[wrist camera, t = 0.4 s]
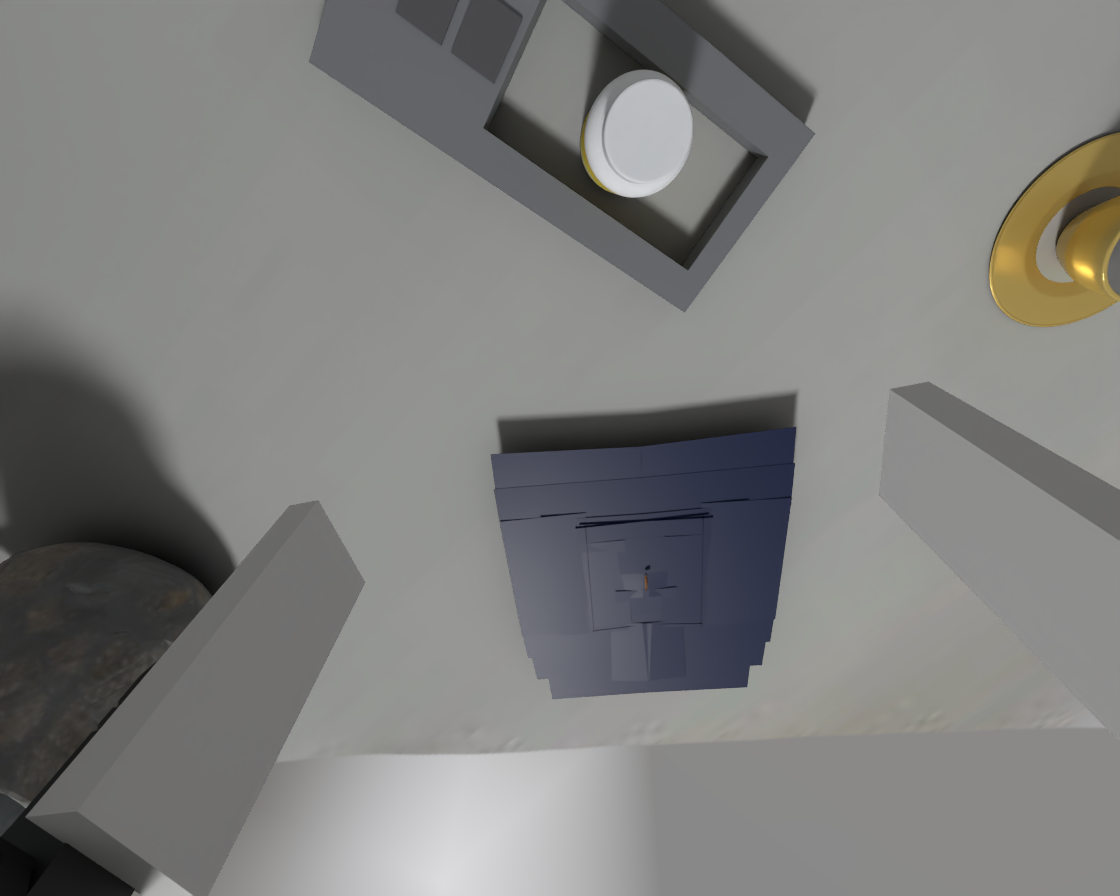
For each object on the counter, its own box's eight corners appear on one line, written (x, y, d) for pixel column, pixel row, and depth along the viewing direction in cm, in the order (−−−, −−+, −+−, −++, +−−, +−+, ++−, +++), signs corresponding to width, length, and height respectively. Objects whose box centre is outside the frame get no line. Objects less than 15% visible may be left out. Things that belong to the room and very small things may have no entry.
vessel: (-25, 483, 43) (-429, 695, 25) (237, 526, 45) (31, 748, 28) (48, 645, 53) (-203, 875, 36) (258, 674, 55) (118, 903, 38)
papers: (536, 677, 55) (534, 708, 51) (491, 439, 41) (485, 460, 38) (756, 663, 53) (768, 693, 50) (785, 412, 40) (805, 431, 36)
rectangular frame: (255, 22, 27) (227, 8, 25) (322, -269, 22) (295, -320, 20) (678, 305, 35) (686, 314, 33) (800, 136, 30) (820, 132, 28)
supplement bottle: (623, 212, 32) (644, 227, 23) (561, 148, 30) (560, 138, 22) (686, 139, 30) (734, 126, 21) (623, 66, 28) (649, 20, 20)
